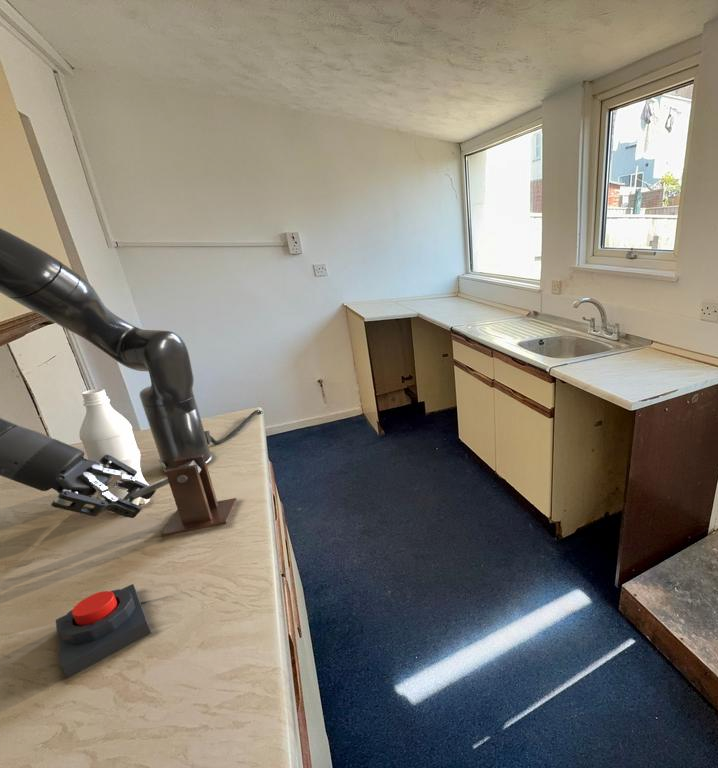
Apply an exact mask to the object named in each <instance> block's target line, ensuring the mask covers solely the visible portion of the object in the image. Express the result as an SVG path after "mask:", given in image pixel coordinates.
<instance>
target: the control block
mask: <svg viewBox="0 0 718 768" xmlns="http://www.w3.org/2000/svg"><path fill="white" fill-rule="evenodd" d="M109 591H110V592H112V593H113V594H114V596H115V598H116V601H117V607H116V609H115V610H114V611H113V612H111V613H110V614H109V615H108V616H106V617H105V618H103V619H101V620H99V621H97V622H95V623H92V624H89V625H85V626H80V625H77V624H76V622H75V619H74V617H73V615H72V610H73V609H71V610H70V611H68V612H67V613H66V614H65V615H62V616H61V617H58V618H56V619H55V626H56V633H57V641H58V643H57V644H58V651H59V659H60V667H61V669H62V671H63V673H64V675H65V676H66V678H67V679H70V678H72V677H73V676H75V675H77V674H79V673H81V672H82V671H84V670H86V669H88V668H90V667H92V666H93V665H95V664H97V663H99V662H101V661H103V660H104V659H106V658H108V657H110V656H112V655H114V654H116V653H118V652H119V651H121V650H123V649H125V648H127V647H128V646H130V645H132V644H134V643H135V642H138V641H139V640H142V639H143V638H145V637H147V636H149V635H150V634H152V631H151V628H150V625H149V622H148V620H147V617H146V613H145V611H144V608H143V605H142V603H141V599H140V598H139V595H138V592H137V589H136V586H135V585H134V583H132V584H129V585H127V586H125V587H123V588H119V589H114V590H109Z"/></svg>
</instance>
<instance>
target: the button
mask: <svg viewBox="0 0 718 768" xmlns="http://www.w3.org/2000/svg"><path fill="white" fill-rule="evenodd" d="M110 591H111V590H104V591H100V592H96V593H92V595H89V596H87V597H85V598H83V599H82V600H81V601H79V602H78V603H77V604H76V605H75V606H74V607H73V608H72V609H71V610H72V615H73V617H74V619H75V622H76V624H77V625H80V626H85V625H89V624H92V623H95V622H97V621H99V620H101V619H103V618H105V617H106V616H108V615H109V614H110V613H111V612H113V611H114V610H115V609H116V607H117V601H116V598H115V596H114V594H113V593H112V592H110Z"/></svg>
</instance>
